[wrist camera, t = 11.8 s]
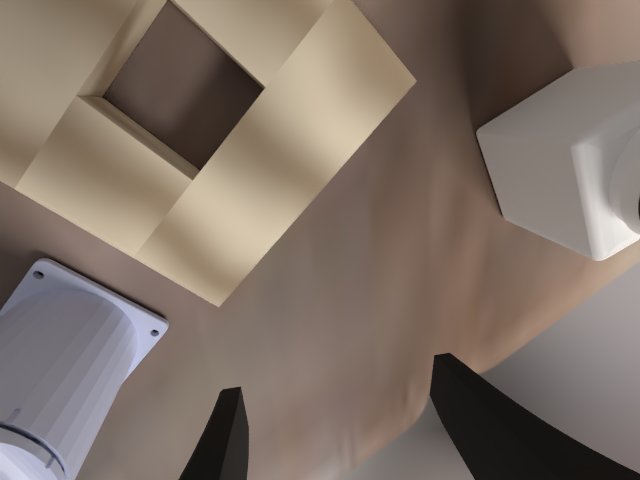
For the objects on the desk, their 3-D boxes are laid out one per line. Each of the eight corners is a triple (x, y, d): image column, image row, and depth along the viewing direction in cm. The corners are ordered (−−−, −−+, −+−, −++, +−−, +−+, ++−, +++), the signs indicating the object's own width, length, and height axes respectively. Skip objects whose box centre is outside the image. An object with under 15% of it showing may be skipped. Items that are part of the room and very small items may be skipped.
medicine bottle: (502, 220, 23) (728, 325, 12) (472, 130, 20) (736, 157, 9) (591, 166, 22) (910, 222, 11) (574, 66, 19) (981, 12, 9)
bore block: (223, 285, 21) (218, 307, 18) (-72, 104, 15) (-133, 104, 12) (396, 84, 18) (416, 80, 16) (122, -242, 12) (90, -324, 10)
